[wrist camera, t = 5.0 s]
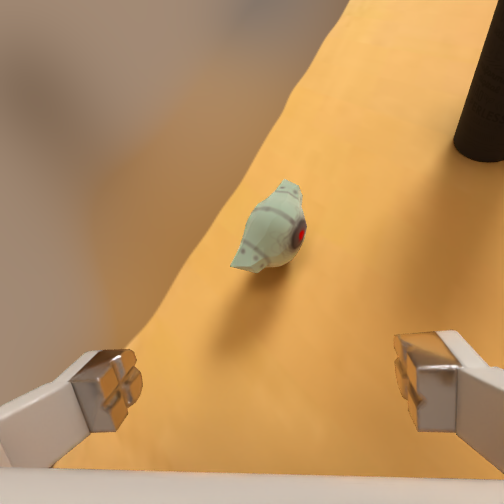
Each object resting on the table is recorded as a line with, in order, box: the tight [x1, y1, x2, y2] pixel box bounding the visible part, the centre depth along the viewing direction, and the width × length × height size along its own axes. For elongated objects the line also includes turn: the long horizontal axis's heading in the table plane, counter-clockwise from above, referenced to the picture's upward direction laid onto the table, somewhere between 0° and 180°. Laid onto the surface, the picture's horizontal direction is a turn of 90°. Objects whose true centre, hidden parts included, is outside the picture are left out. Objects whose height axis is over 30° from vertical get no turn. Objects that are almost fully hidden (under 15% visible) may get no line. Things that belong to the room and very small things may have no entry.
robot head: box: [230, 179, 307, 273], centre depth 22 cm, size 8×4×7 cm, turn 150°
